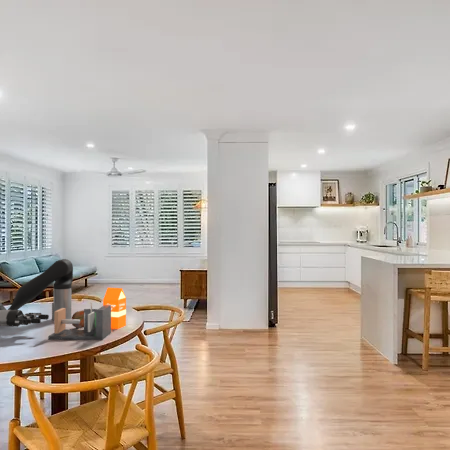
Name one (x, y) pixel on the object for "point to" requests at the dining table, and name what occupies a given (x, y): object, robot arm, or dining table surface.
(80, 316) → the tin
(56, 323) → the plunger
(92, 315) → the pointer
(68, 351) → the dining table surface
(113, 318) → the orange juice
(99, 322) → the grey l-shaped bracket
